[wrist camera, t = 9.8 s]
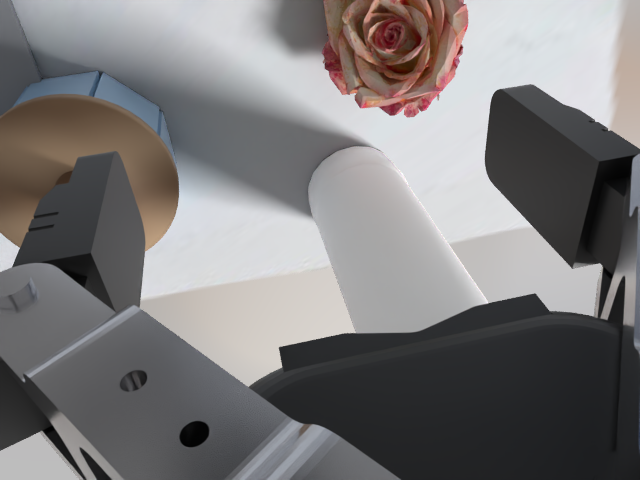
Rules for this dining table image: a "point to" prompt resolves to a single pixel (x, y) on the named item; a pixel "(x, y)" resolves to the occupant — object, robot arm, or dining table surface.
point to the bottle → (385, 246)
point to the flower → (394, 50)
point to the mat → (14, 58)
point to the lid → (76, 141)
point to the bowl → (103, 97)
